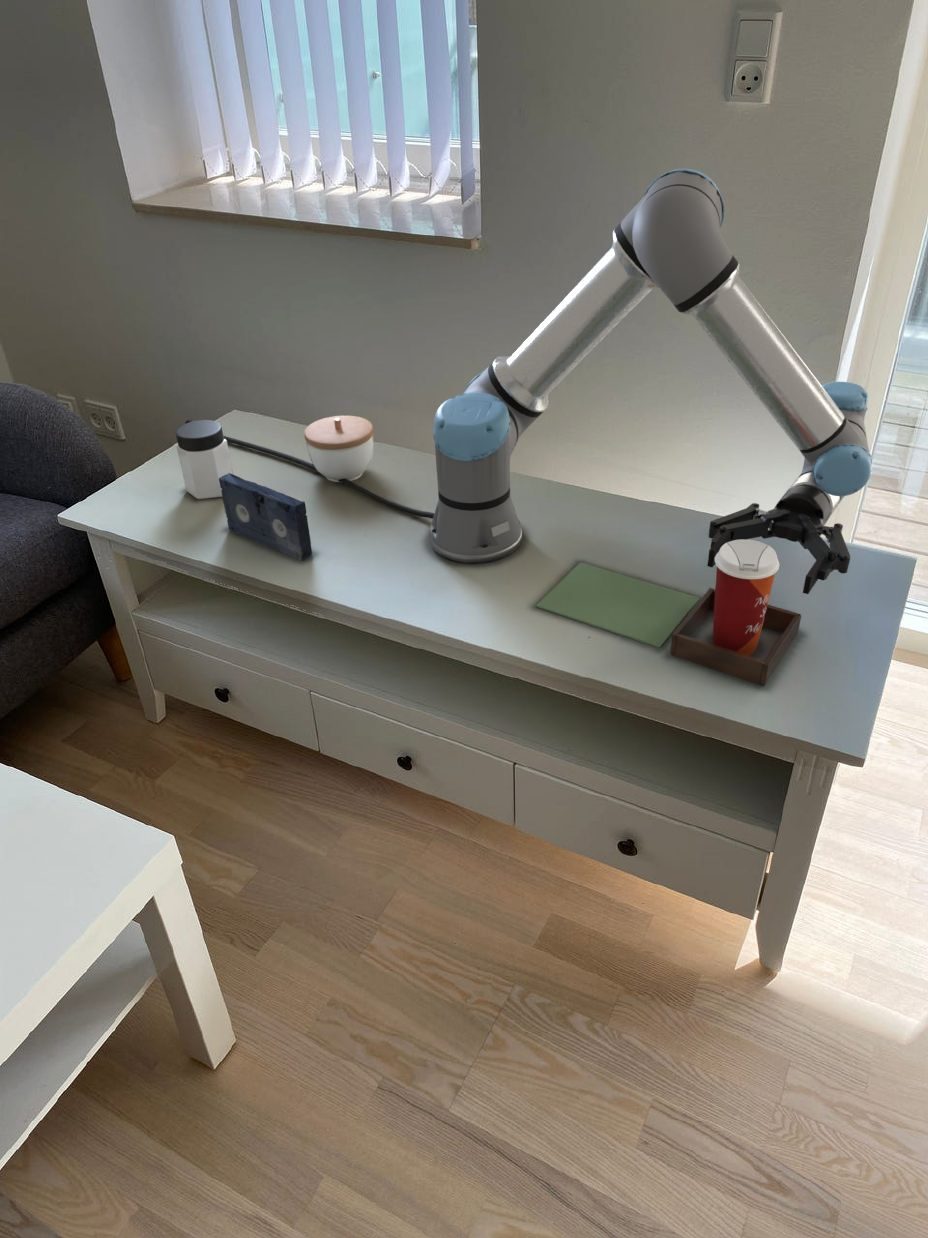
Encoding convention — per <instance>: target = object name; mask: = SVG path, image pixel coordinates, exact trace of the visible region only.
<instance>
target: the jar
mask: <svg viewBox="0 0 928 1238" xmlns="http://www.w3.org/2000/svg"><path fill="white" fill-rule="evenodd" d="M192 421H193V422H189V423H186V422H185V423H186V424H185V423H183V424H182V425H180V426H179V427H177V428H176V430H175V437H176V441H177V444H176V445H175V446H176V451H177V455H178V459H179V465H180V469H181V474H182V477H183V481H184V486H185V490H186V492H188V493H189V494H190V495H191V496H193V497H194V498H196V500H204V499H205V500H206V499H214V498H221V497H222V492H221V490H222V488H220V483H219V478H220V477H222V476H224V475H226V474H228V473H230V474H233V475H234V472H233V465H232V461H231V455H230V450H229V446H228V442H227V440H226V439H224V437H223V436H224V432H223V428H222V424H221V423H220V422H218V421H215V420H211V419H199V420H192ZM222 498H223V497H222Z"/></svg>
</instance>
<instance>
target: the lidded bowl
mask: <svg viewBox="0 0 928 1238" xmlns="http://www.w3.org/2000/svg"><path fill="white" fill-rule="evenodd" d="M303 434H304V440H305V443H306V449H307V453H308V456H309V459H310V461H311V464H313V465H314V467H315V468H316V469H317V470H318V471H319V472H318V473H320V474H321V475H322V476H324V477H325V479H327V481H329V482H333V483H340V482H339V481H338V480H340V479H347V480H349V481H351V482H353V481H356V480H358V479H360V478H361V477H362V476H363V475H364V472H365V471H366V470H367V468H369V466H370V464H371V462H372V459H373V456H374V447H375V442H374V425H373V424H372V422H371V421H370V420H368V419H366V418H364V417H362V416H361V417H360V416H357V415H345V414H344V415H333V416H328V417H324V418H320V419H317V420H315V421H313V422H312V423H310V424H309V425H307V427H305V430H304V433H303Z"/></svg>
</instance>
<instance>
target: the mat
mask: <svg viewBox="0 0 928 1238" xmlns="http://www.w3.org/2000/svg"><path fill="white" fill-rule="evenodd" d="M699 601H700V597H699V596H694V595H692V594H688V593H685V592H681V591H678V590H675V589H671V588H668V587H665V586H661V585H659V584H655V583H652V582H648V581H644V580H641V579H638V578H635V577H631V576H627V575H626V574H625V575H624V574H621V573H618V572H614V571H612V570H608V569H605V568H602V567H597V566H595V565H591V564H589V563H584V562H579V563H578V564H577V565H576V566H575V567H574V568H573V569H572V570H570V572H569V573H567V575H566V576H565V577H564V578H563V579H561V580H560V582H558V583H557V584H556V585H555V586H554V587H553V588H552V589H551V590H550V591H549V592H548V593H547V594H546V595H545V596H544V597H543V598H542V599H541V600H540V601H539V602H538V603H537V604H536V605H535V607H536V608H538V609H541V610H545V611H547V612H549V613H553V614H556V615H558V616H562V617H565V618H568V619H571V620H574V621H577V622H580V623H583V624H586V625H588V626H592V627H595V628H598V629H601V630H604V631H607V632H610V633H612V634H613V633H614V634H617V635H619V636H623V637H626V638H628V639H631V640H634V641H638V642H640V643H643V644H646V645H649V646H652V647H655V648H658V649H660V648H661V647H662V646H663V645H664V644H665V643H666V642H667V640H668V639H669V637H670V636H672V634H673V633H674V632H675V630H676V629H677V628H678V627H679V625H680V624H681V623H682V622H683V621H684V619H685V618H686V617H687V616H688V614H689V613H690V612H691V611H692V609H693V608H694V607H695V606H696V604H697V603H698V602H699Z"/></svg>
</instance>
